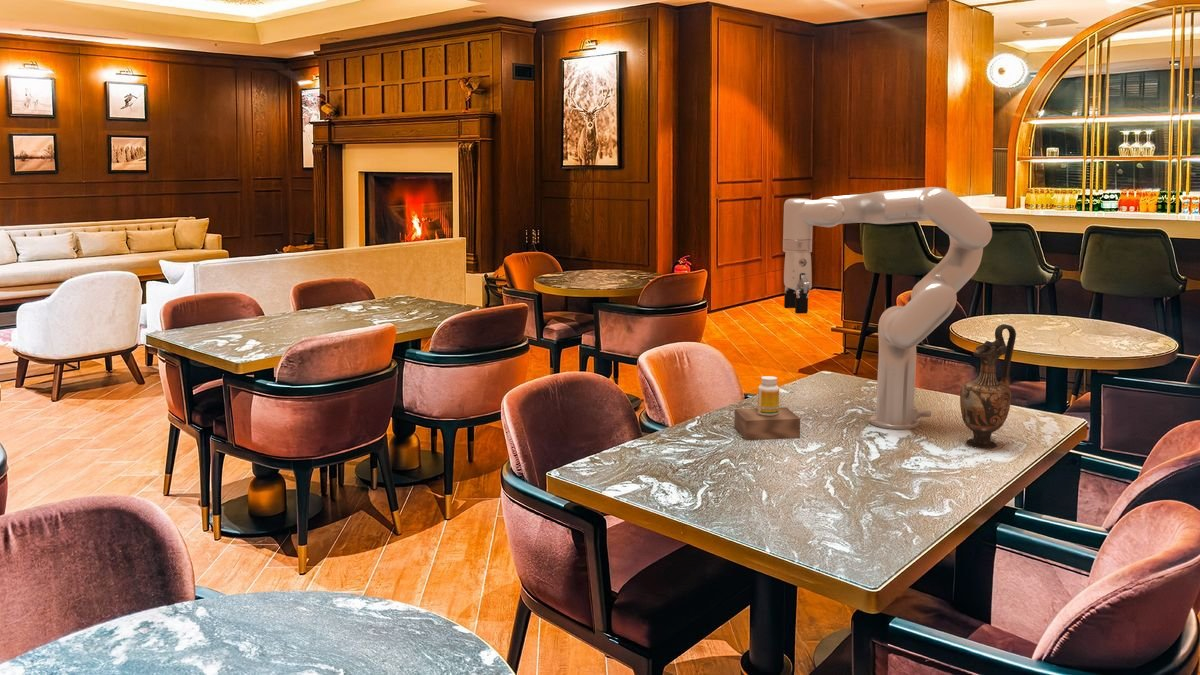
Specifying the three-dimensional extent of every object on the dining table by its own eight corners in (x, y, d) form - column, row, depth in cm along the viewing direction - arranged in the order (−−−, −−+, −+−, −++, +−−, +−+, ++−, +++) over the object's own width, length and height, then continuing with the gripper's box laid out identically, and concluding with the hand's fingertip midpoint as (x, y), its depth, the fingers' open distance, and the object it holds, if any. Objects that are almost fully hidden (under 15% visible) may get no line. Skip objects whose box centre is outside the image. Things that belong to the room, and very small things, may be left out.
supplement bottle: (753, 412, 247) (754, 376, 245) (770, 410, 249) (771, 374, 248) (765, 417, 242) (766, 380, 241) (782, 415, 244) (783, 378, 243)
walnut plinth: (786, 425, 253) (786, 407, 252) (799, 437, 242) (800, 418, 241) (734, 427, 252) (734, 409, 251) (745, 439, 240) (746, 420, 239)
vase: (948, 439, 240) (955, 321, 234) (996, 437, 241) (1003, 320, 235) (970, 452, 228) (978, 329, 223) (1020, 450, 229) (1029, 328, 224)
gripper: (822, 248, 241) (820, 315, 244) (801, 243, 258) (799, 305, 261) (793, 248, 241) (791, 315, 243) (774, 243, 257) (772, 306, 260)
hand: (795, 310), depth 252 cm, fingers open, 9 cm apart
